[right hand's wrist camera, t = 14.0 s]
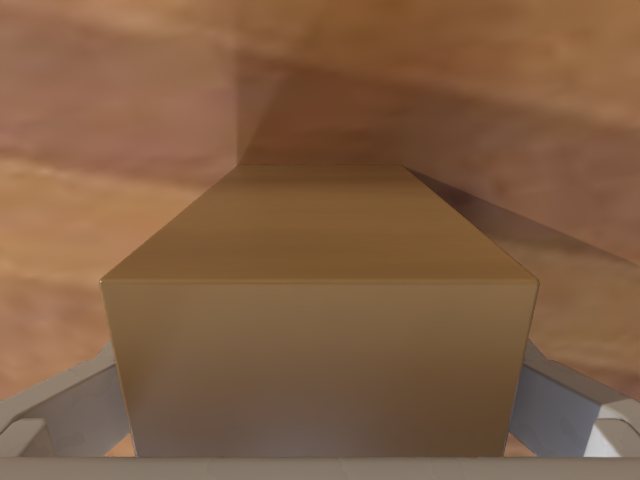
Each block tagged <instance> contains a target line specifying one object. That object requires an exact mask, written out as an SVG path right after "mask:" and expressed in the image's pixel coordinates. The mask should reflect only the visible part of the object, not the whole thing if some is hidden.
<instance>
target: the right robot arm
mask: <svg viewBox="0 0 640 480" xmlns="http://www.w3.org/2000/svg"><path fill="white" fill-rule="evenodd" d="M509 432H510V433H511V434H512V435H513V436H514V437H516V438H517V439H518V440H519V441H520V442H521V443H523V444H524V445H525V446H526V447H527V448H528V449H530V450H531V451H532V452H533V453H534V454H536V455H537V456H538V457H102V456H103V455H105V454H106V453H107V452H108V451H109V450H110V449H112V448H113V447H114V446H115V445H116V444H117V443H119V442H120V441H121V440H122V439H123V438H125V437H126V436H127V435H128V434H129V433H130V428H129V423H128V419H127V414H126V409H125V405H124V400H123V395H122V390H121V386H120V381H119V376H118V372H117V367H116V362H115V357H114V353H113V348H112V343H111V339H110V341H109V342H108V343H107V344H106V345H105V346H104V347H103V349H102V350H101V351H100V352H99V353H98V354H97V356H96V357H95V358H94V359H93V360H86V361H84V362H82V363H79V364H77V365H75V366H73V367H71V368H69V369H67V370H65V371H63V372H61V373H59V374H57V375H55V376H53V377H51V378H48V379H46V380H44V381H42V382H40V383H38V384H36V385H34V386H32V387H30V388H28V389H26V390H24V391H22V392H20V393H18V394H15V395H13V396H11V397H9V398H7V399H5V400H3V401H1V402H0V480H640V402H639V401H637V400H635V399H633V398H630V397H628V396H626V395H624V394H622V393H620V392H618V391H616V390H614V389H612V388H610V387H608V386H606V385H604V384H602V383H600V382H598V381H595V380H593V379H591V378H589V377H587V376H585V375H583V374H581V373H579V372H577V371H575V370H573V369H571V368H569V367H567V366H565V365H563V364H560V363H558V362H556V361H554V360H547V359H546V358H545V357H544V356H543V354H542V353H541V352H540V351H539V350H538V349H537V348H536V346H535V345H534V344H533V343H532V342H531V341H530V339H529V338H528V342H527V346H526V351H525V356H524V361H523V365H522V370H521V375H520V379H519V384H518V389H517V394H516V398H515V403H514V408H513V413H512V417H511V422H510V427H509Z"/></svg>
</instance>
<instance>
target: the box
mask: <svg viewBox="0 0 640 480" xmlns="http://www.w3.org/2000/svg"><path fill="white" fill-rule="evenodd" d="M539 285H540V284H539V280H538V279H537V278H536V277H535V276H534V275H533V274H531V273H530V272H529V271H528V270H527V269H525V268H524V267H523V266H522V265H521V264H519V263H518V262H517V261H516V260H515V259H513V258H512V257H511V256H510V255H509V254H507V253H506V252H505V251H504V250H503V249H502V248H500V247H499V246H498V245H497V244H496V243H494V242H493V241H492V240H491V239H490V238H488V237H487V236H486V235H485V234H484V233H482V232H481V231H480V230H479V229H478V228H476V227H475V226H474V225H473V224H472V223H470V222H469V221H468V220H467V219H466V218H464V217H463V216H462V215H461V214H460V213H459V212H457V211H456V210H455V209H454V208H453V207H451V206H450V205H449V204H448V203H447V202H445V201H444V200H443V199H442V198H441V197H439V196H438V195H437V194H436V193H435V192H433V191H432V190H431V189H430V188H429V187H427V186H426V185H425V184H424V183H423V182H421V181H420V180H419V179H418V178H417V177H415V176H414V175H413V174H412V173H411V172H410V171H408V170H407V169H406V168H405V167H404V166H402V165H238V166H236V167H235V168H234V169H233V170H232V171H230V172H229V173H228V174H227V175H226V176H224V177H223V178H222V179H221V180H219V181H218V182H217V183H216V184H215V185H213V186H212V187H211V188H210V189H209V190H207V191H206V192H205V193H204V194H203V195H201V196H200V197H199V198H198V199H196V200H195V201H194V202H193V203H192V204H190V205H189V206H188V207H187V208H186V209H184V210H183V211H182V212H181V213H179V214H178V215H177V216H176V217H175V218H173V219H172V220H171V221H170V222H169V223H167V224H166V225H165V226H164V227H163V228H161V229H160V230H159V231H158V232H156V233H155V234H154V235H153V236H152V237H150V238H149V239H148V240H147V241H146V242H144V243H143V244H142V245H141V246H140V247H138V248H137V249H136V250H135V251H133V252H132V253H131V254H130V255H129V256H127V257H126V258H125V259H124V260H123V261H121V262H120V263H119V264H118V265H117V266H115V267H114V268H113V269H112V270H110V271H109V272H108V273H107V274H106V275H104V276H103V277H102V278H101V279H100V281H99V287H100V292H101V296H102V301H103V306H104V310H105V315H106V320H107V325H108V329H109V334H110V339H111V343H112V348H113V353H114V357H115V362H116V367H117V372H118V376H119V381H120V386H121V390H122V395H123V400H124V405H125V409H126V414H127V419H128V423H129V428H130V433H131V438H132V442H133V447H134V452H135V456H136V457H503V455H504V450H505V446H506V441H507V436H508V431H509V427H510V422H511V417H512V413H513V408H514V403H515V398H516V394H517V389H518V384H519V379H520V375H521V370H522V365H523V361H524V356H525V351H526V346H527V342H528V337H529V332H530V327H531V323H532V318H533V313H534V308H535V304H536V299H537V294H538V290H539Z"/></svg>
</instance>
